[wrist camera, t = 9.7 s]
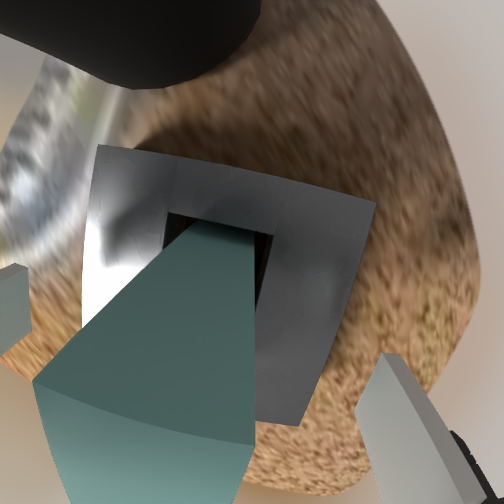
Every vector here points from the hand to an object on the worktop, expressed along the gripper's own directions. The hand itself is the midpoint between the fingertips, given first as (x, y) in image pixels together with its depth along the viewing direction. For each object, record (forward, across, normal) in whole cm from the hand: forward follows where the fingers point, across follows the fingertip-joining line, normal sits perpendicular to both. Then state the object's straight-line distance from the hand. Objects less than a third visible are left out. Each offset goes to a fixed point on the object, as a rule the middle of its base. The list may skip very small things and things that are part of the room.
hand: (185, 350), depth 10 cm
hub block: (+8, 0, 0) cm, 8 cm away
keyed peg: (+8, 0, 0) cm, 8 cm away
